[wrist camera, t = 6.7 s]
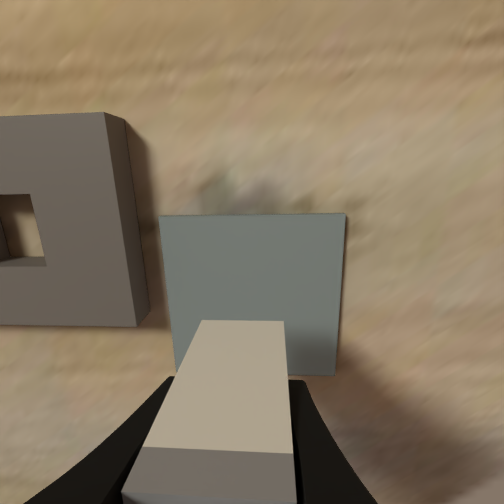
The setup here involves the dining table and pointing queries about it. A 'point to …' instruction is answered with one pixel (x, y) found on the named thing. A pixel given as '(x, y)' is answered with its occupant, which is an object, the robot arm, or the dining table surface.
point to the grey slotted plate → (72, 223)
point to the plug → (222, 423)
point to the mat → (258, 279)
